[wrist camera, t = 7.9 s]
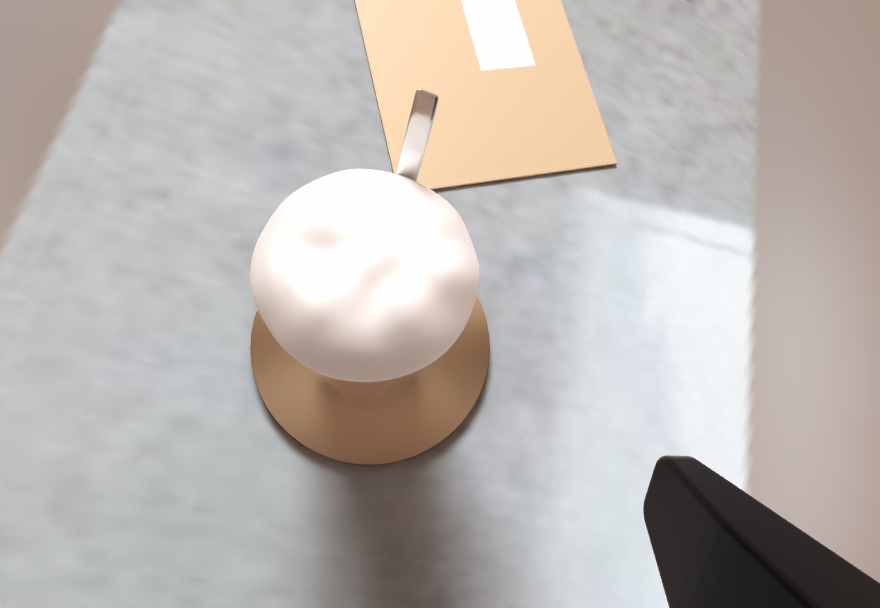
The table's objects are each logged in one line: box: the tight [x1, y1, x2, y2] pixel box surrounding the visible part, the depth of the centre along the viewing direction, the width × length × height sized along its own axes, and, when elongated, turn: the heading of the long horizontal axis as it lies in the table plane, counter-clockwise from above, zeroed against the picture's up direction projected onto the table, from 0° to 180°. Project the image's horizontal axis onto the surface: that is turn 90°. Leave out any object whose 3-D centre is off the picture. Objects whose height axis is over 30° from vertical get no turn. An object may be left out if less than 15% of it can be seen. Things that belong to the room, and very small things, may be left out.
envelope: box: [355, 0, 617, 190], centre depth 24 cm, size 12×9×1 cm
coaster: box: [250, 297, 490, 465], centre depth 20 cm, size 8×8×1 cm
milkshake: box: [251, 89, 480, 404], centre depth 15 cm, size 5×5×10 cm
